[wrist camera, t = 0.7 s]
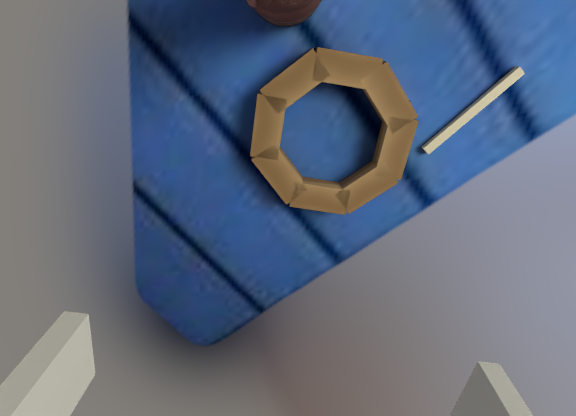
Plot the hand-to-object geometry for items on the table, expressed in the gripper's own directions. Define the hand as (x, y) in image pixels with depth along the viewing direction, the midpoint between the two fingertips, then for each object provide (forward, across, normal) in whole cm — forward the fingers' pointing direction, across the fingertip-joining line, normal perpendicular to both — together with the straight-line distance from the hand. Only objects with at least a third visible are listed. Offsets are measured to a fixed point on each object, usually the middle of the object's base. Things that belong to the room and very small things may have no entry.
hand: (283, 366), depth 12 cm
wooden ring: (+24, +3, +3) cm, 24 cm away
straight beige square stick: (+24, +15, +7) cm, 29 cm away
